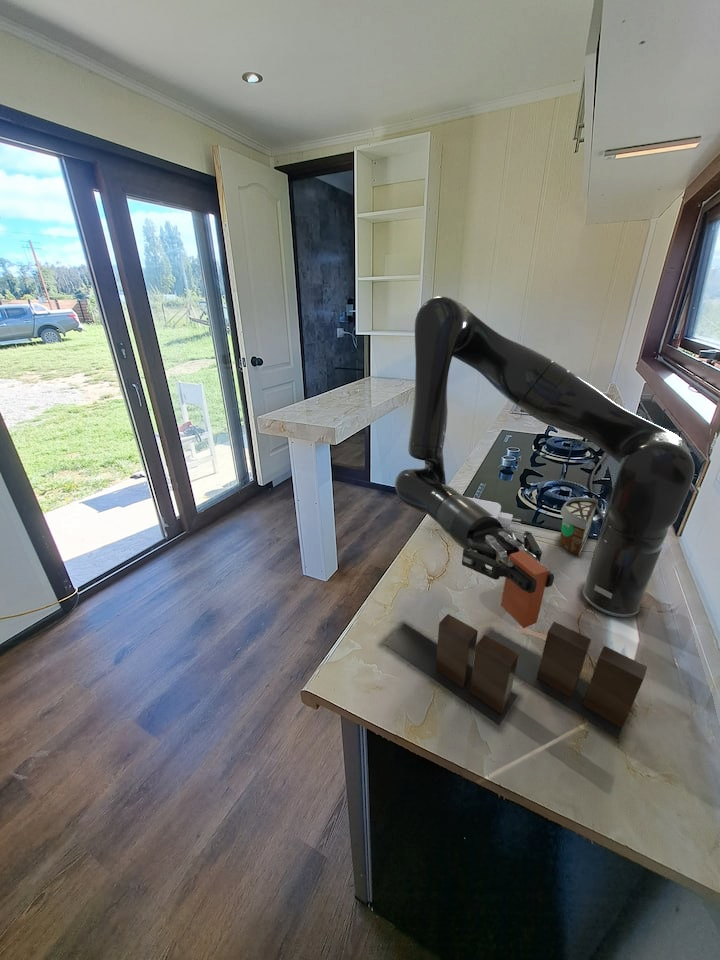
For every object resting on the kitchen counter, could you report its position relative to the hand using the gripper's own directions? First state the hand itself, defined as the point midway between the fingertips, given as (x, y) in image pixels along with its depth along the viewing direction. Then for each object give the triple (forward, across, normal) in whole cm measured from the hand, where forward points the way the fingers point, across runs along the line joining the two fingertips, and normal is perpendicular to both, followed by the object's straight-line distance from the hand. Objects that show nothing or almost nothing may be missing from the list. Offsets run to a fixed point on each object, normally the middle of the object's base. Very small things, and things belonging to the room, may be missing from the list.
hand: (542, 584), depth 53 cm
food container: (-23, +35, +18) cm, 45 cm away
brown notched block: (+3, +3, +18) cm, 18 cm away
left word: (-5, -11, +18) cm, 22 cm away
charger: (-37, +23, +18) cm, 47 cm away
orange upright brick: (-3, 0, +8) cm, 9 cm away
